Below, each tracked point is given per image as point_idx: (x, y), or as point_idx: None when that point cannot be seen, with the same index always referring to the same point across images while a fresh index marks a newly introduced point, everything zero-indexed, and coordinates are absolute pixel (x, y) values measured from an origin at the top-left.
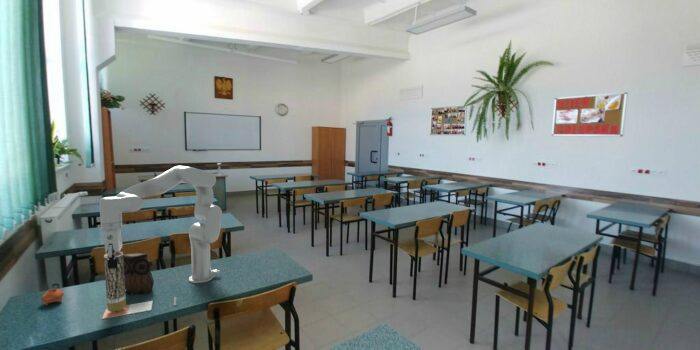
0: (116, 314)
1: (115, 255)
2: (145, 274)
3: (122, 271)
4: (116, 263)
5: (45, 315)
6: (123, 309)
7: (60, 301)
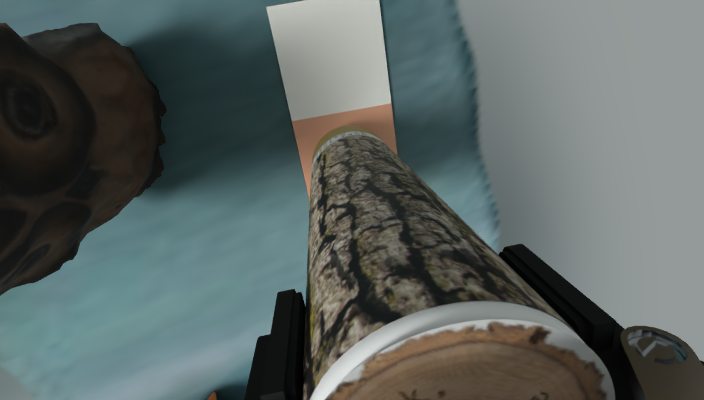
0: None
1: (700, 389)
2: (71, 76)
3: (415, 186)
4: (555, 275)
5: None
6: None
7: (215, 394)
